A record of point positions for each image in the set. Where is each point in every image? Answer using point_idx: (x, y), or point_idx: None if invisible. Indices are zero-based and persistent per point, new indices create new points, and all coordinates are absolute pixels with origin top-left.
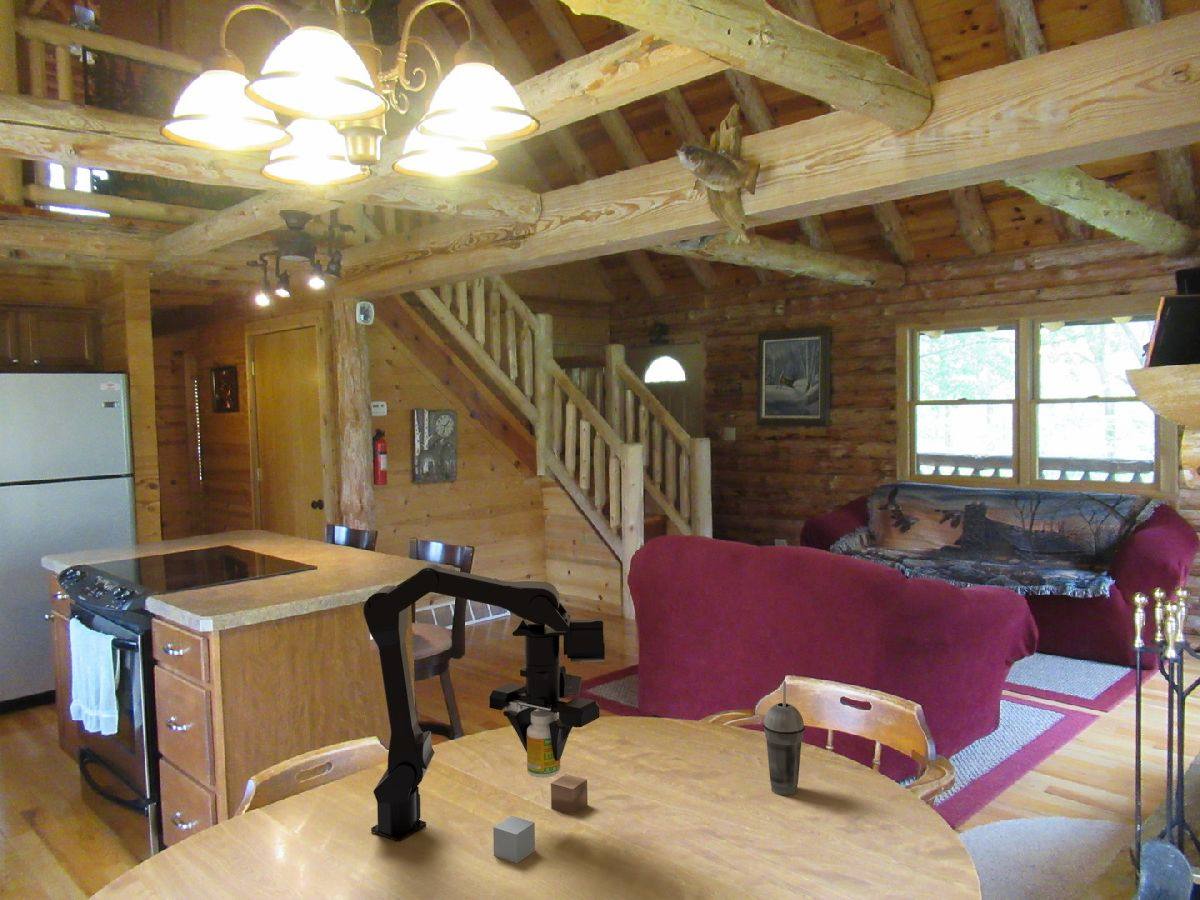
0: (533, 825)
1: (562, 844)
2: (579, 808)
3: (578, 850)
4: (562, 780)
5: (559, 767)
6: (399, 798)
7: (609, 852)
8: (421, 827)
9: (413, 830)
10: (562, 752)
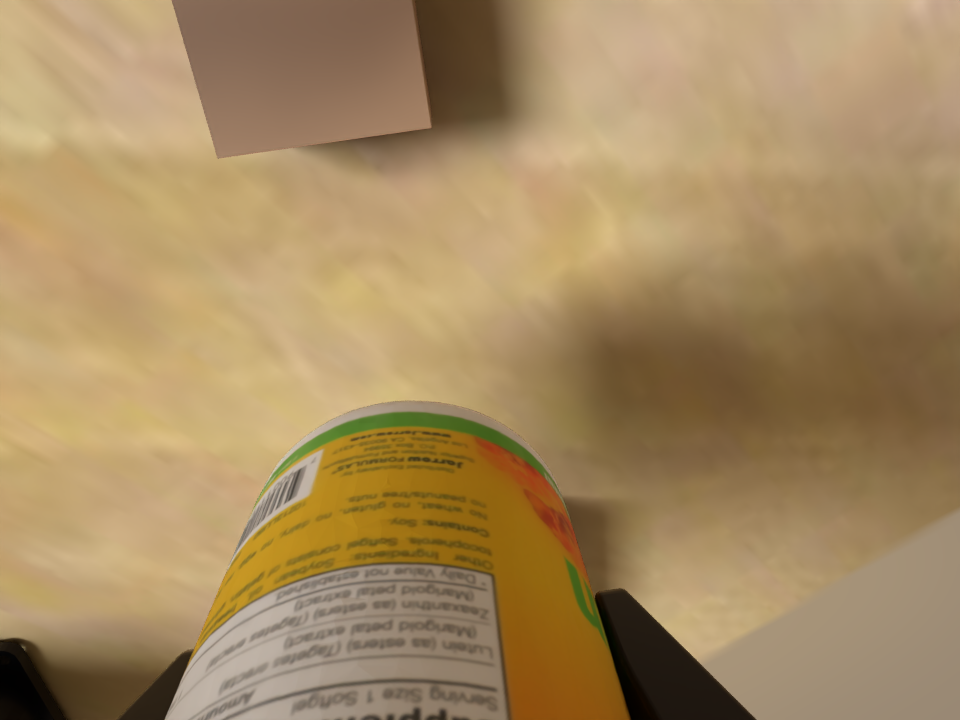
0: None
1: (607, 390)
2: (419, 31)
3: (703, 382)
4: (240, 46)
5: (560, 495)
6: None
7: (839, 307)
8: (32, 669)
9: (48, 706)
10: (670, 638)
